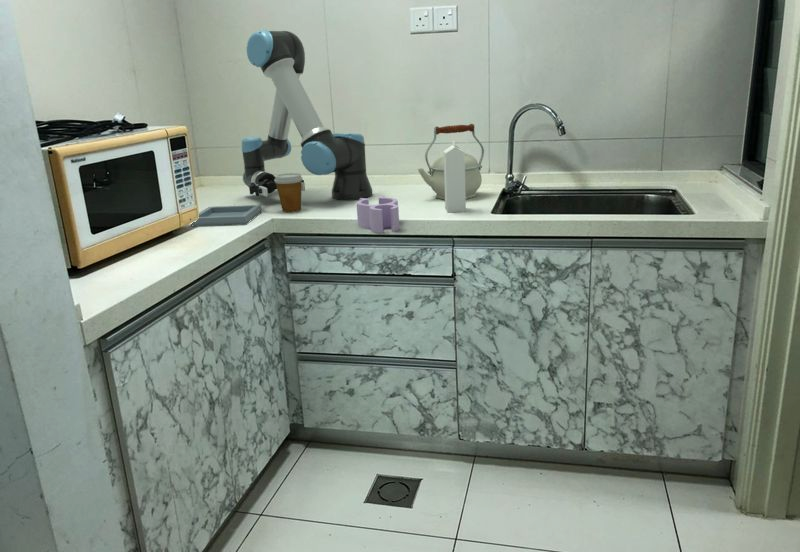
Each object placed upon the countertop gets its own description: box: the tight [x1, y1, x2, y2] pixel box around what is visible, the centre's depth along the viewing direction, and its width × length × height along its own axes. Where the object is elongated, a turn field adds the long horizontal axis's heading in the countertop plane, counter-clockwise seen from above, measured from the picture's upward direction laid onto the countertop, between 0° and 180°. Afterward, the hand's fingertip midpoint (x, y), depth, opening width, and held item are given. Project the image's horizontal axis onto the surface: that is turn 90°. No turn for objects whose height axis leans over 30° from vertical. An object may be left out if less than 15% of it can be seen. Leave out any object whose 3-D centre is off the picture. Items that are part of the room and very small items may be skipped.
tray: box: [190, 204, 262, 227], centre depth 216 cm, size 18×18×3 cm
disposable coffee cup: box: [274, 172, 304, 213], centre depth 224 cm, size 10×10×12 cm
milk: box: [443, 140, 467, 213], centre depth 209 cm, size 6×6×22 cm
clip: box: [355, 195, 400, 234], centre depth 197 cm, size 20×12×7 cm, turn 15°
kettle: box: [417, 123, 485, 201], centre depth 231 cm, size 25×18×25 cm
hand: (285, 189), depth 225 cm, fingers open, 13 cm apart
